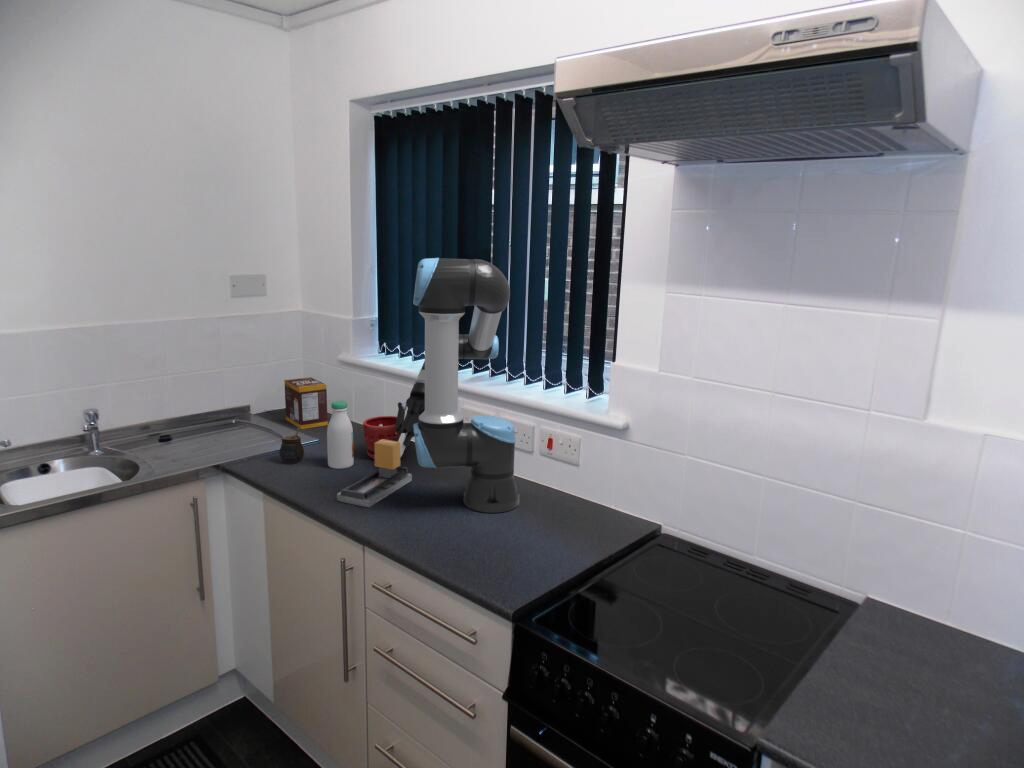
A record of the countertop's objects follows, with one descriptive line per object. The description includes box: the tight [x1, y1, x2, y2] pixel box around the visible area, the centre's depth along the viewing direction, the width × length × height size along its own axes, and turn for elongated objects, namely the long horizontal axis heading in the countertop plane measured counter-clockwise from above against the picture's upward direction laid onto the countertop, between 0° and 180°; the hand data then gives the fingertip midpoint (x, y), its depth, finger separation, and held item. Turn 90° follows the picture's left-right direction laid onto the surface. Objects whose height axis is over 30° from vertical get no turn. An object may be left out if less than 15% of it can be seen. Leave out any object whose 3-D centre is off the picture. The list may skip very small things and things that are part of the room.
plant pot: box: [362, 415, 399, 460], centre depth 214 cm, size 13×13×12 cm
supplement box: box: [284, 376, 329, 430], centre depth 248 cm, size 10×15×16 cm
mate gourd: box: [278, 427, 305, 465], centre depth 206 cm, size 7×8×10 cm
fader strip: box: [336, 465, 413, 509], centre depth 186 cm, size 23×10×4 cm, turn 158°
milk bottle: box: [326, 400, 355, 470], centre depth 203 cm, size 8×8×20 cm
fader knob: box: [374, 439, 401, 478], centre depth 191 cm, size 4×6×10 cm, turn 68°
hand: (397, 454), depth 196 cm, fingers closed
